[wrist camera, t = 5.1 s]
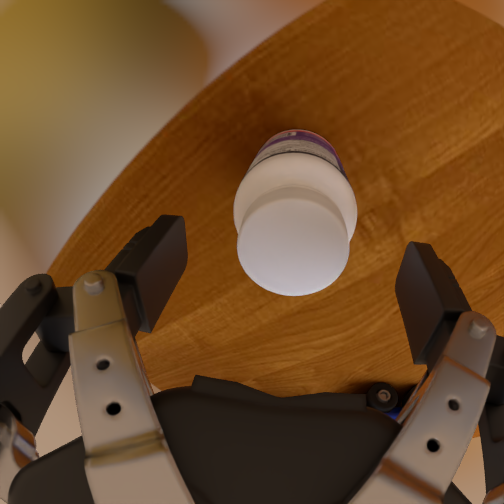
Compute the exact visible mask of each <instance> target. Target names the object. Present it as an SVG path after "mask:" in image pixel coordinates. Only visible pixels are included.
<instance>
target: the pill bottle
mask: <svg viewBox="0 0 504 504" xmlns="http://www.w3.org/2000/svg"><path fill="white" fill-rule="evenodd" d="M356 221H357V205H356V200H355V195H354V193H353V190H352V188H351V186H350V183H349V181H348V178H347V176H346V174H345V171H344V169H343V167H342V164H341V162H340V159H339V157H338V155H337V153H336V151H335V150H334V148H333V147H332V146H331V144H330V143H329V142H328V141H327V140H325V139H324V138H323V137H321V136H319V135H318V134H316V133H313V132H310V131H306V130H288V131H284V132H281V133H278V134H276V135H275V136H273V137H271V138H270V139H269V140H268V141H267V142H266V143H265V144H264V145H263V146H262V147H261V149H260V150H259V152H258V154H257V155H256V157H255V159H254V161H253V162H252V164H251V166H250V167H249V169H248V171H247V173H246V174H245V176H244V178H243V179H242V182H241V184H240V186H239V188H238V190H237V193H236V197H235V201H234V222H235V226H236V229H237V232H238V239H237V253H238V257H239V261H240V263H241V265H242V267H243V269H244V271H245V272H246V273H247V275H248V276H249V277H250V278H251V279H252V280H253V281H254V282H255V283H257V284H258V285H260V286H261V287H263V288H265V289H266V290H269V291H271V292H274V293H277V294H281V295H288V296H300V295H307V294H311V293H314V292H317V291H320V290H322V289H324V288H326V287H327V286H329V285H330V284H331V283H333V282H334V281H335V280H336V279H337V278H338V277H339V275H340V274H341V273H342V271H343V270H344V268H345V266H346V263H347V260H348V257H349V242H350V240H351V238H352V235H353V233H354V230H355V226H356Z"/></svg>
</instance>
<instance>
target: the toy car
mask: <svg viewBox="0 0 504 504" xmlns="http://www.w3.org/2000/svg"><path fill="white" fill-rule="evenodd" d="M416 387H417V385H416V386H414V387H413V388H412V389H411V390H410V391H409V393H408V394H407V395H406V396H405V397H404V399H403V400H402V404H401V406H402V407H395V405H396V404H397V402H398V395H397V392H396V391H395V389H394V388H393V387H392V386H390V385H389V384H386V383H377V384H374V385H373V386H372V387H371V388H370V390H369V391H368V392H367V394H366V406H367V407H371V408H373V409H376V410H379V411H381V412H383V413H385V414H387V415H388V416H390V417H391V418H393V419H394V420H395V419H396V418H397V416H398V415H399V413H400V412H401V410H402V409H403V407H404V406H405V404H406V403H407V401H408V400H409V398H410V396H411V395H412V393H413V392H414V390H415V388H416Z"/></svg>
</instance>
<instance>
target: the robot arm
mask: <svg viewBox="0 0 504 504" xmlns="http://www.w3.org/2000/svg"><path fill="white" fill-rule="evenodd" d="M187 258H188V253H187V243H186V232H185V222H184V218H183V217H182V216H175V215H161V216H160V217H159V218H158V219H157V220H156V221H155V222H154V224H153V225H152V226H151V227H146V228H144V229H143V230H141V231H139V232H137V233H136V234H135V235H134V236H133V237H132V239H131V240H130V241H129V243H127V244H126V245H125V246H124V248H123V249H122V250H121V251H120V252H119V253H118V255H117V256H116V257H115V258H114V259H113V260H112V262H111V263H110V264H109V265H108V266H107V267H106V269H105V270H95V271H91V272H88V273H86V274H84V275H83V276H81V277H80V278H79V279H78V280H77V281H76V282H75V284H74V286H73V287H57V288H56V287H55V285H54V282H53V280H52V278H51V276H49V275H47V274H37V275H33V276H31V277H29V278H27V279H26V280H25V281H23V282H22V283H21V284H20V285H19V286H18V288H17V289H16V290H15V291H14V292H13V293H12V295H11V296H10V297H9V298H8V299H7V301H6V302H5V303H4V304H3V305H2V307H1V308H0V499H2V500H3V501H4V502H6V503H7V504H472V503H471V502H470V501H469V500H468V499H467V498H466V497H465V496H464V495H463V493H462V492H461V491H460V490H459V489H458V488H457V487H456V485H455V484H454V483H453V482H452V479H453V477H454V475H455V473H456V471H457V469H458V467H459V465H460V463H461V461H462V459H463V457H464V454H465V452H466V450H467V448H468V446H469V443H470V441H471V439H472V436H473V434H474V431H475V429H476V426H477V424H478V425H479V431H480V437H481V444H482V451H483V460H484V470H485V483H486V496H485V498H484V500H483V504H504V337H501V336H498V335H496V330H495V328H494V326H493V324H492V323H491V322H490V320H489V319H487V318H486V317H485V316H483V315H482V314H480V313H477V312H474V311H472V310H471V308H470V306H469V304H468V302H467V300H466V298H465V296H464V294H463V292H462V290H461V288H460V287H459V284H458V282H457V280H456V279H455V276H454V275H453V273H452V271H451V269H450V268H449V267H448V266H447V265H446V264H445V263H444V262H443V261H442V260H441V259H438V257H437V255H436V253H435V252H434V250H433V248H432V246H431V245H430V244H426V243H419V242H412V241H411V242H409V244H408V245H407V248H406V251H405V254H404V257H403V260H402V263H401V266H400V269H399V272H398V275H397V278H396V284H395V292H396V297H397V300H398V303H399V307H400V311H401V314H402V318H403V321H404V325H405V329H406V333H407V337H408V341H409V345H410V349H411V353H412V358H413V362H414V364H427V368H428V369H427V370H426V372H425V373H424V375H423V377H422V378H421V380H420V382H419V383H418V385H417V387H416V388H415V390H414V392H413V393H412V395H411V396H410V398H409V400H408V401H407V403H406V404H405V406H404V407H403V409H402V410H401V412H400V413H399V415H398V416H397V418H396V419H395V420H394V419H393V418H391V417H390V416H388V415H387V414H385V413H383V412H381V411H379V410H376V409H373V408H371V407H367V406H366V394H348V393H330V392H323V393H316V394H309V395H302V396H294V397H285V398H281V397H276V396H273V395H270V394H267V393H264V392H262V391H259V390H256V389H253V388H251V387H248V386H246V385H243V384H240V383H238V382H233V381H227V380H221V379H216V378H210V377H205V376H200V375H195V377H194V380H193V383H192V386H185V387H176V388H172V389H167V390H164V391H161V392H158V393H156V394H154V392H153V389H152V387H151V384H150V381H149V378H148V376H147V373H146V370H145V367H144V364H143V361H142V358H141V355H140V352H139V349H138V345H137V342H136V339H135V336H136V334H137V332H138V330H139V331H143V332H148V333H151V332H152V330H153V328H154V326H155V324H156V322H157V320H158V318H159V316H160V315H161V313H162V311H163V309H164V307H165V305H166V303H167V302H168V300H169V298H170V296H171V294H172V292H173V290H174V289H175V287H176V285H177V283H178V281H179V280H180V278H181V276H182V274H183V272H184V270H185V268H186V265H187ZM34 332H36V333H37V335H38V337H39V339H40V342H39V343H38V345H37V346H36V348H35V349H34V351H33V353H32V354H31V356H30V357H29V359H28V361H27V362H26V364H25V365H24V363H23V360H22V352H23V348H24V347H25V345H26V344H27V342H28V340H29V339H30V338H31V336H32V335H33V333H34ZM70 365H71V371H72V379H73V386H74V392H75V400H76V405H77V411H78V417H79V422H80V427H81V432H82V436H80V437H78V438H76V439H75V440H72V441H71V442H69V443H67V444H65V445H63V446H61V447H59V448H57V449H55V450H54V451H52V452H50V453H48V454H46V455H44V456H42V457H40V458H39V454H38V452H37V451H36V440H35V435H36V433H37V431H38V429H39V427H40V425H41V422H42V420H43V418H44V416H45V414H46V412H47V410H48V408H49V406H50V404H51V402H52V400H53V398H54V396H55V394H56V392H57V390H58V388H59V386H60V384H61V382H62V380H63V378H64V377H65V375H66V373H67V371H68V369H69V367H70Z"/></svg>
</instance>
